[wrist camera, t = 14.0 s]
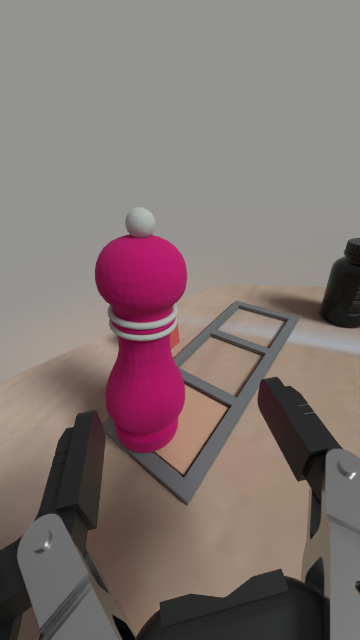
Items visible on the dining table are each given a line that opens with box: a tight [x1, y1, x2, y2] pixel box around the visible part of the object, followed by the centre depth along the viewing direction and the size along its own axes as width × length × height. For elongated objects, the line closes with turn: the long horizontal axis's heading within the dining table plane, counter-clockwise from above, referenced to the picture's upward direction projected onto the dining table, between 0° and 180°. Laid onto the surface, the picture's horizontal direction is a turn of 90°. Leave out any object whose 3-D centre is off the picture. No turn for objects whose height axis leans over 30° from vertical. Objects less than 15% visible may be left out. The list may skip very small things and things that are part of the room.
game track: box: [103, 301, 299, 505], centre depth 31 cm, size 31×11×1 cm, turn 143°
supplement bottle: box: [320, 238, 360, 327], centre depth 35 cm, size 7×7×12 cm
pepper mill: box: [95, 207, 187, 453], centre depth 19 cm, size 7×7×20 cm
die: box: [170, 316, 179, 349], centre depth 34 cm, size 5×5×6 cm
